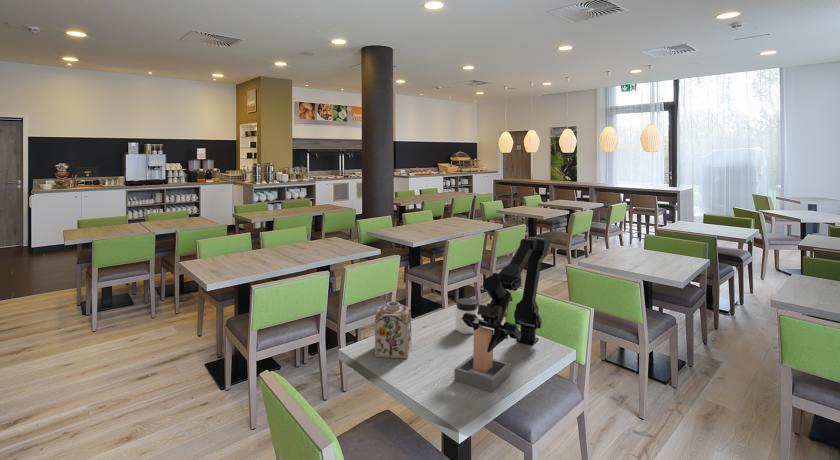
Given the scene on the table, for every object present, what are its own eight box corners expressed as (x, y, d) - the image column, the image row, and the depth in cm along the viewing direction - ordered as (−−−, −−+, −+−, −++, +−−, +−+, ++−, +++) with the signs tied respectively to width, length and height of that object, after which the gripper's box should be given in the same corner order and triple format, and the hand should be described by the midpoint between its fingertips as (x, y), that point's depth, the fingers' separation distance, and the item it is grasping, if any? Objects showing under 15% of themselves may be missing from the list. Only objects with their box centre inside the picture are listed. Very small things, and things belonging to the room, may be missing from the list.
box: (474, 364, 156) (474, 353, 155) (509, 374, 149) (510, 363, 148) (454, 379, 145) (454, 368, 145) (492, 392, 138) (492, 380, 138)
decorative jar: (380, 343, 172) (380, 297, 169) (411, 345, 171) (411, 298, 168) (374, 358, 161) (373, 308, 157) (407, 359, 159) (407, 309, 156)
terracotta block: (480, 363, 150) (480, 326, 147) (492, 366, 147) (493, 329, 145) (473, 368, 146) (473, 331, 144) (485, 372, 144) (486, 334, 141)
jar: (451, 328, 186) (451, 300, 184) (466, 324, 191) (467, 296, 189) (466, 336, 179) (466, 306, 177) (481, 331, 184) (482, 302, 182)
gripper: (465, 288, 151) (446, 331, 144) (518, 299, 140) (500, 346, 133) (476, 305, 159) (459, 346, 152) (527, 316, 148) (511, 361, 141)
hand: (481, 349), depth 144 cm, fingers closed on terracotta block, 4 cm apart
